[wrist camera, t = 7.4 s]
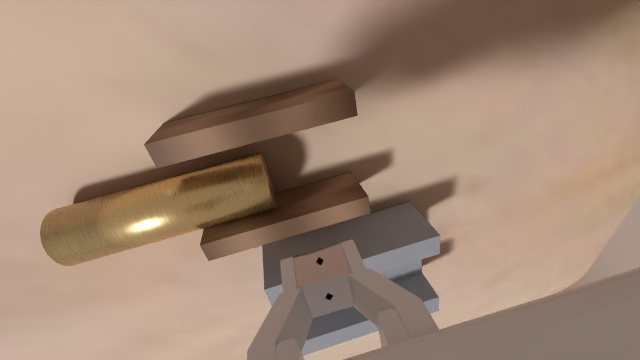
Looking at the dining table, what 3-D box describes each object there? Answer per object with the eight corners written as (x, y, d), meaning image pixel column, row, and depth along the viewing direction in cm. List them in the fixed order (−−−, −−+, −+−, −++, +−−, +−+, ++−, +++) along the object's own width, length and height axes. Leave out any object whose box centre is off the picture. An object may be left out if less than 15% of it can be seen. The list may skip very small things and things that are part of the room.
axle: (257, 142, 20) (266, 186, 18) (270, 175, 23) (279, 217, 21) (50, 197, 19) (31, 252, 17) (95, 224, 22) (84, 273, 20)
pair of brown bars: (336, 79, 20) (354, 90, 16) (353, 186, 24) (370, 213, 21) (163, 123, 19) (144, 144, 15) (215, 226, 23) (208, 260, 20)
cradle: (409, 201, 26) (440, 235, 22) (412, 271, 31) (438, 310, 27) (262, 244, 25) (264, 289, 21) (288, 310, 30) (295, 358, 26)
